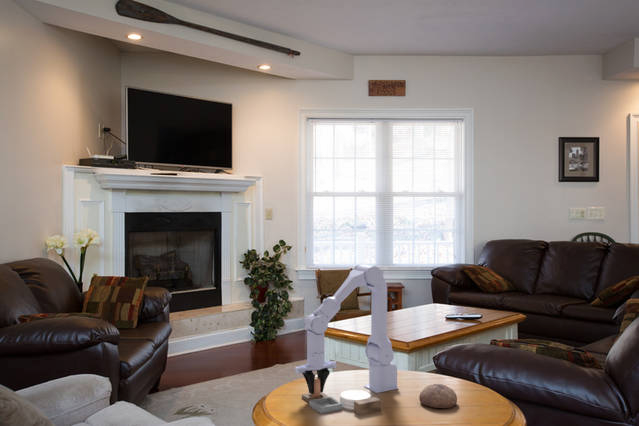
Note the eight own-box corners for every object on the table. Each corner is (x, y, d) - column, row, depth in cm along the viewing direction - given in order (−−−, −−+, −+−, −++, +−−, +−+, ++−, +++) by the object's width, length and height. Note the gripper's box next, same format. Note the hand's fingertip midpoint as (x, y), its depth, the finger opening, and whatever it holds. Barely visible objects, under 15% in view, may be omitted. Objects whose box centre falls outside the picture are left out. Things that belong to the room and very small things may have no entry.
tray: (330, 402, 175) (330, 396, 175) (342, 410, 168) (342, 403, 168) (309, 406, 171) (309, 400, 171) (320, 414, 165) (320, 408, 165)
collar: (320, 394, 183) (320, 391, 182) (330, 401, 176) (330, 397, 176) (301, 398, 179) (301, 394, 179) (311, 404, 173) (311, 401, 173)
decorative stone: (443, 411, 165) (442, 393, 165) (412, 402, 174) (411, 385, 174) (464, 401, 173) (463, 384, 173) (433, 393, 182) (432, 377, 182)
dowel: (317, 397, 180) (317, 376, 180) (322, 400, 177) (322, 379, 177) (309, 398, 178) (309, 377, 178) (314, 401, 176) (313, 380, 176)
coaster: (376, 403, 174) (376, 392, 174) (361, 413, 166) (361, 402, 166) (349, 397, 180) (349, 387, 180) (334, 407, 172) (334, 396, 172)
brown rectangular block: (375, 407, 170) (375, 396, 170) (381, 411, 167) (381, 399, 167) (354, 412, 166) (354, 401, 166) (359, 415, 164) (359, 404, 164)
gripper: (329, 345, 185) (329, 385, 185) (290, 351, 178) (290, 392, 178) (339, 350, 178) (339, 391, 179) (300, 356, 172) (300, 398, 172)
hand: (316, 392), depth 178 cm, fingers closed on dowel, 3 cm apart
